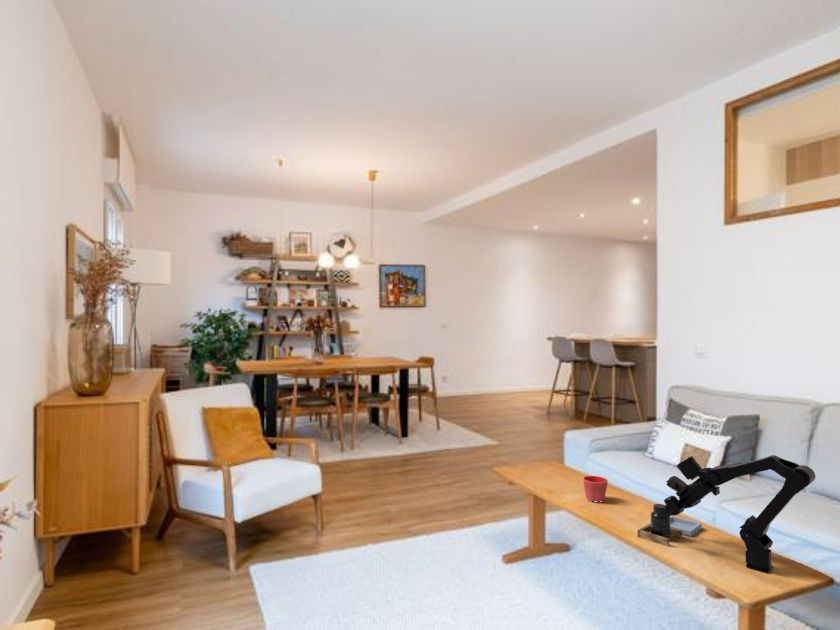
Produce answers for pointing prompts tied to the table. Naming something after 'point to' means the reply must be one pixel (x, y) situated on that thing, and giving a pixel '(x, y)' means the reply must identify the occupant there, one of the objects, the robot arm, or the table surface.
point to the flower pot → (595, 488)
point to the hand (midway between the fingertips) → (666, 512)
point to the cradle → (655, 538)
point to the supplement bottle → (660, 522)
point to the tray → (685, 526)
